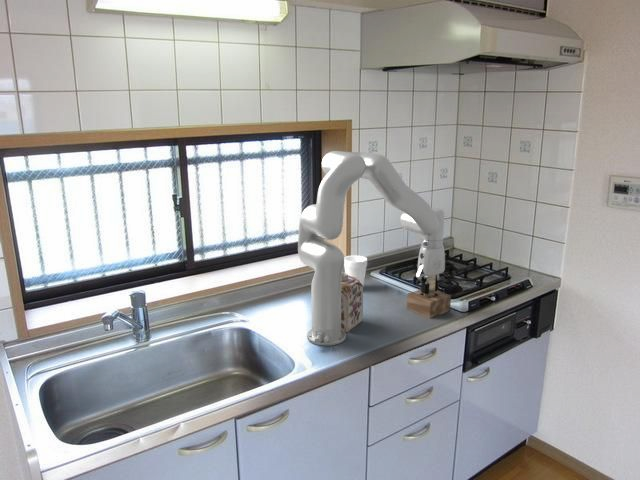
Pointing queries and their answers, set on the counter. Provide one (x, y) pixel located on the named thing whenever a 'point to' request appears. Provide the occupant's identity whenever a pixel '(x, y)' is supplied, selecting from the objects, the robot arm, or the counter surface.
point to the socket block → (428, 303)
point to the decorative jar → (351, 302)
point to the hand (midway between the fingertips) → (429, 291)
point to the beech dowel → (431, 287)
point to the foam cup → (356, 267)
